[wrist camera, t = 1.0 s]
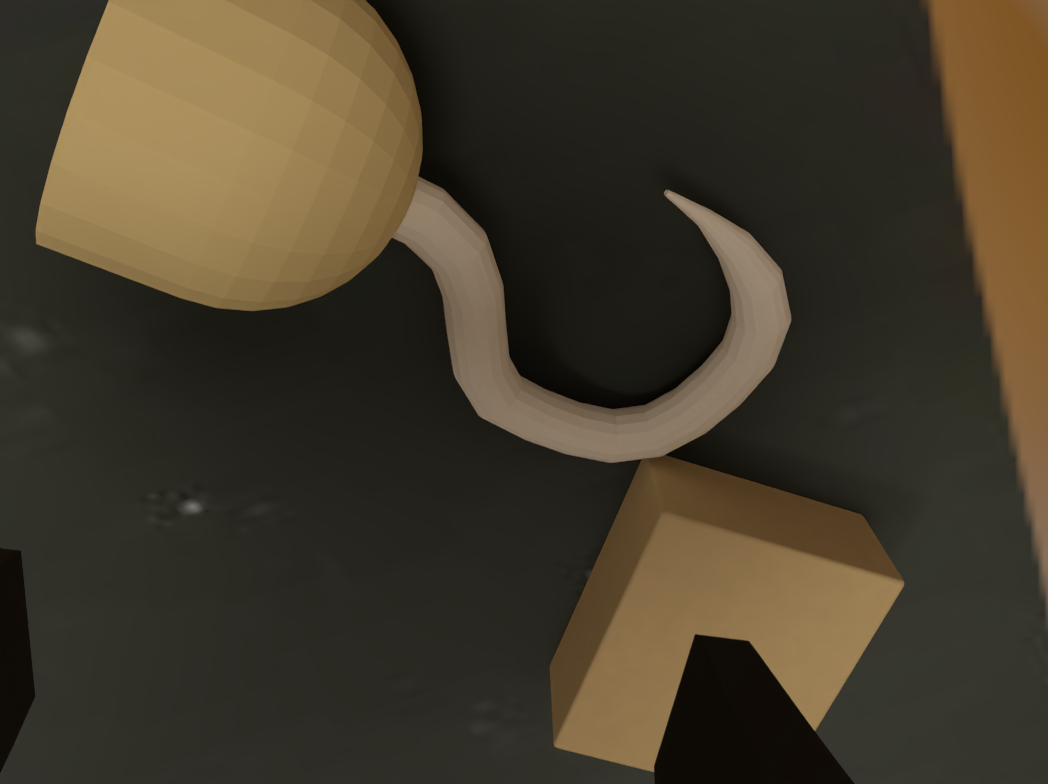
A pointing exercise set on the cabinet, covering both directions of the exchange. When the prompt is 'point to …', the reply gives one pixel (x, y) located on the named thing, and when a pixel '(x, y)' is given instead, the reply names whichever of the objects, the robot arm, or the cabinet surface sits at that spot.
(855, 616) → the beige block
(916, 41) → the cabinet surface
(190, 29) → the hook
